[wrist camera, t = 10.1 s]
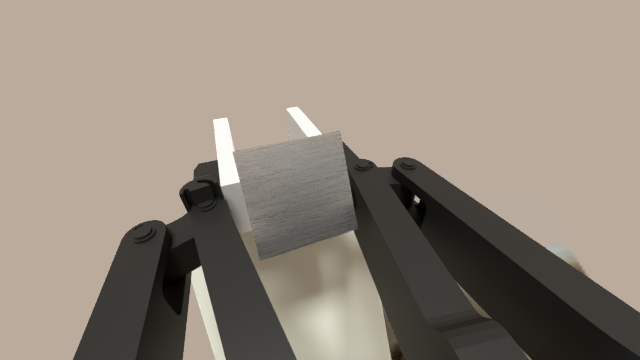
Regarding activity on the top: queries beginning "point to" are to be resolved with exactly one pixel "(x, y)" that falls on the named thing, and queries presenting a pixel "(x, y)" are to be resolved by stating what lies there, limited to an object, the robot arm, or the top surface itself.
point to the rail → (296, 192)
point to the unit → (315, 300)
